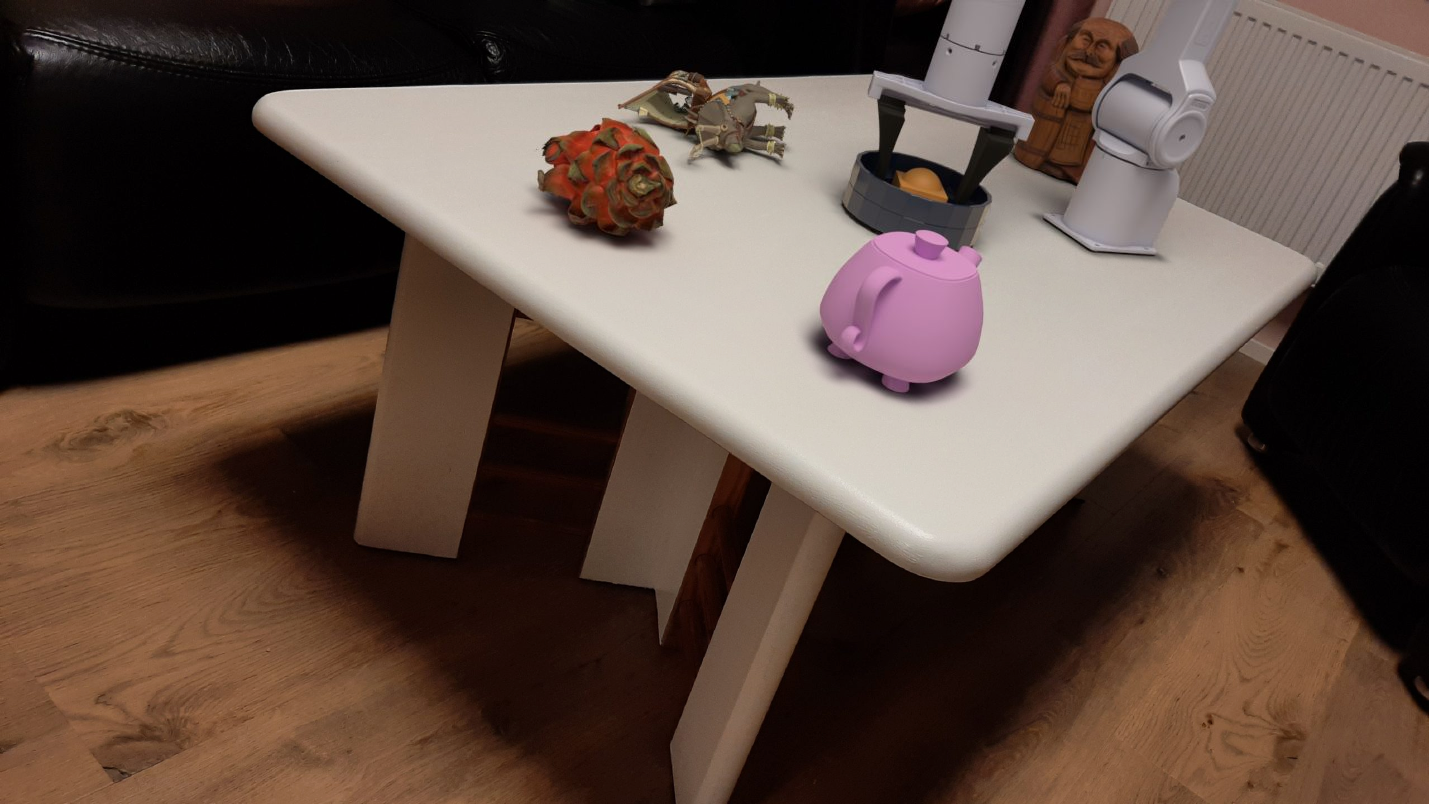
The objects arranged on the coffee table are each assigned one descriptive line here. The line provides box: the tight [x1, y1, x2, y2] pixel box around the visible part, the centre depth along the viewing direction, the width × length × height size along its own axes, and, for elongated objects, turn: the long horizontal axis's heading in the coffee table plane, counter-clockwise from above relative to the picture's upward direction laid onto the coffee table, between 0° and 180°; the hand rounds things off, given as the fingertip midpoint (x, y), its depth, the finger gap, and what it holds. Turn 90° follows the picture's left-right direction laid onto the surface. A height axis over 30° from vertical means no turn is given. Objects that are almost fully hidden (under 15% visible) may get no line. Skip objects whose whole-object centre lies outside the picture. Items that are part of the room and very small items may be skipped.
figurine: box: [617, 69, 795, 160], centre depth 102 cm, size 20×6×17 cm
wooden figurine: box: [1013, 16, 1140, 185], centre depth 123 cm, size 12×6×18 cm, turn 55°
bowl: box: [841, 149, 993, 251], centre depth 96 cm, size 13×13×4 cm
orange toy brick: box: [891, 168, 948, 203], centre depth 94 cm, size 8×4×5 cm, turn 174°
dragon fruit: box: [535, 117, 678, 237], centre depth 77 cm, size 8×8×12 cm
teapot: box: [819, 230, 984, 393], centre depth 69 cm, size 10×15×9 cm
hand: (918, 193), depth 95 cm, fingers open, 7 cm apart
